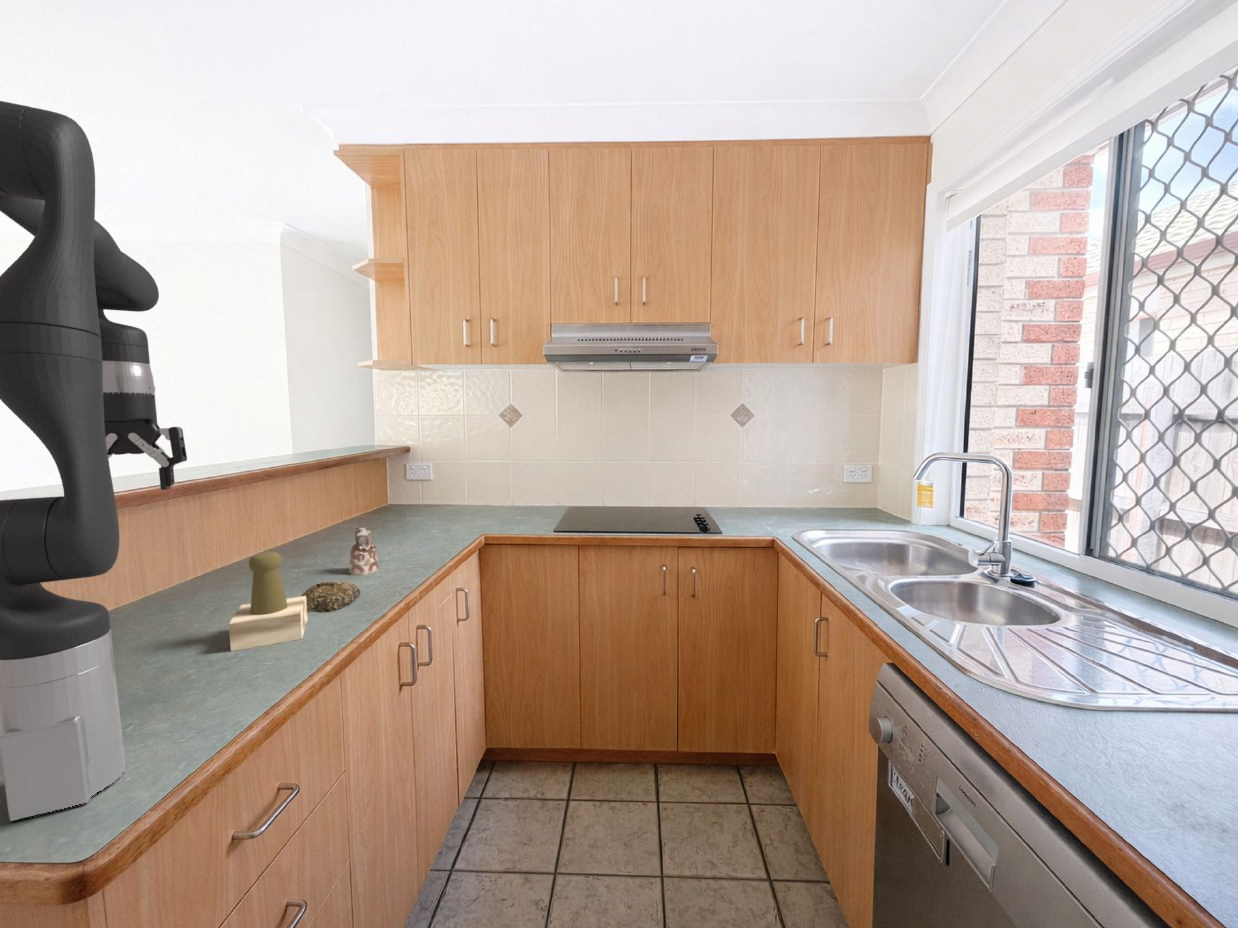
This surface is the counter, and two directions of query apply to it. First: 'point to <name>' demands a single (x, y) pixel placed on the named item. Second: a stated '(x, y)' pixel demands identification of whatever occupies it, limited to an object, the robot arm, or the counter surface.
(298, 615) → the ash block
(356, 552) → the figurine
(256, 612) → the olive knobbed peg
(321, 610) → the bread roll
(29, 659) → the robot arm
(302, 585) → the counter surface
